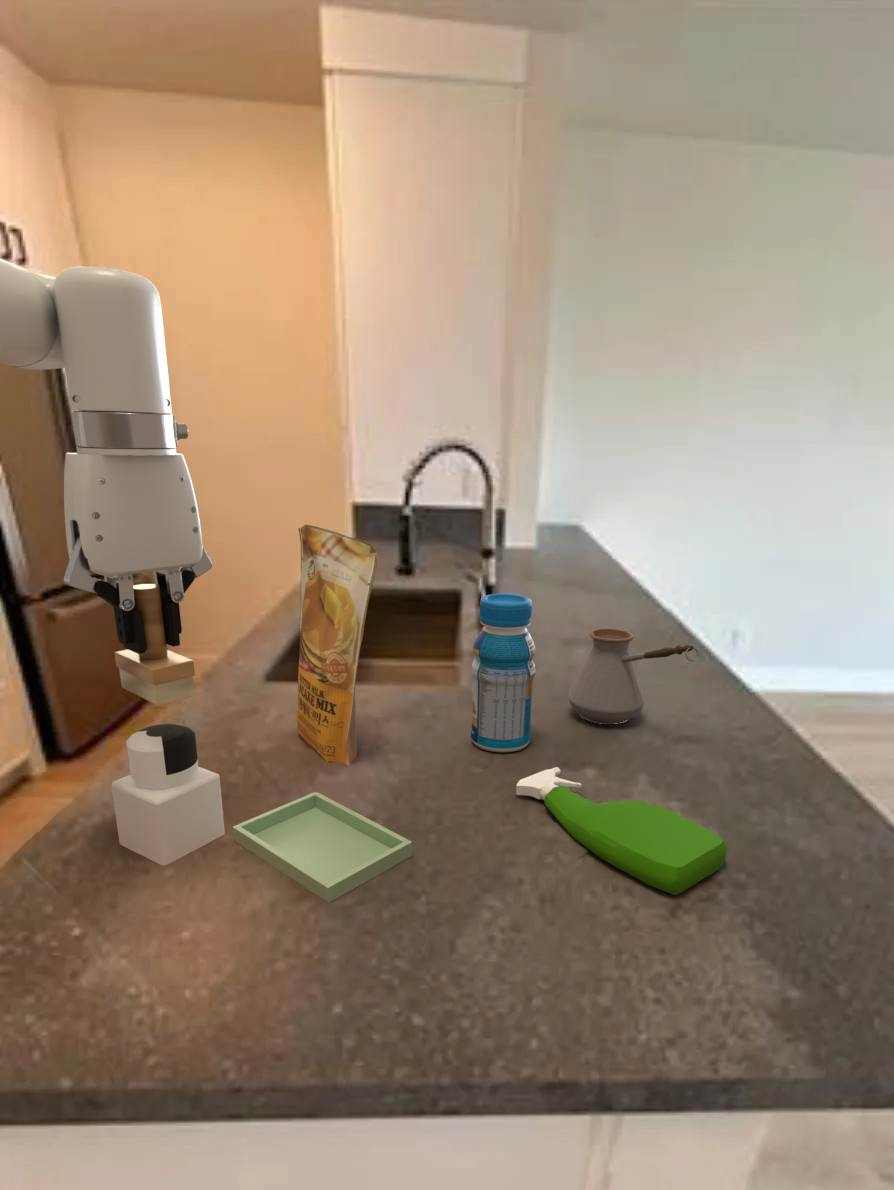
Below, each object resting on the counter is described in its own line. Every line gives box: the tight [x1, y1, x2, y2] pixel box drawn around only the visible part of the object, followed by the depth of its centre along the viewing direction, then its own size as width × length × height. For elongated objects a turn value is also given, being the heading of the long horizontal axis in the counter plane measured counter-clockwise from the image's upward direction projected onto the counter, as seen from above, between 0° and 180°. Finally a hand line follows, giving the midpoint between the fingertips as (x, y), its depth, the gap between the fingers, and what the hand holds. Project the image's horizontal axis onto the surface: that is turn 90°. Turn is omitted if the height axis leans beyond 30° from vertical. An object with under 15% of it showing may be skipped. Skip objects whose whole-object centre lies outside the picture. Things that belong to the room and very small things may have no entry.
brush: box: [114, 583, 196, 706], centre depth 66 cm, size 7×4×10 cm, turn 51°
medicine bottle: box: [111, 723, 226, 867], centre depth 71 cm, size 7×7×12 cm
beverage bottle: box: [470, 593, 536, 753], centre depth 96 cm, size 8×8×20 cm
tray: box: [232, 791, 413, 904], centre depth 72 cm, size 15×10×2 cm
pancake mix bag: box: [296, 524, 378, 767], centre depth 92 cm, size 7×19×28 cm, turn 33°
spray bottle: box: [515, 766, 728, 896], centre depth 78 cm, size 3×11×24 cm
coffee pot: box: [567, 628, 699, 724], centre depth 103 cm, size 21×12×15 cm, turn 34°
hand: (151, 645), depth 66 cm, fingers closed on brush, 2 cm apart
